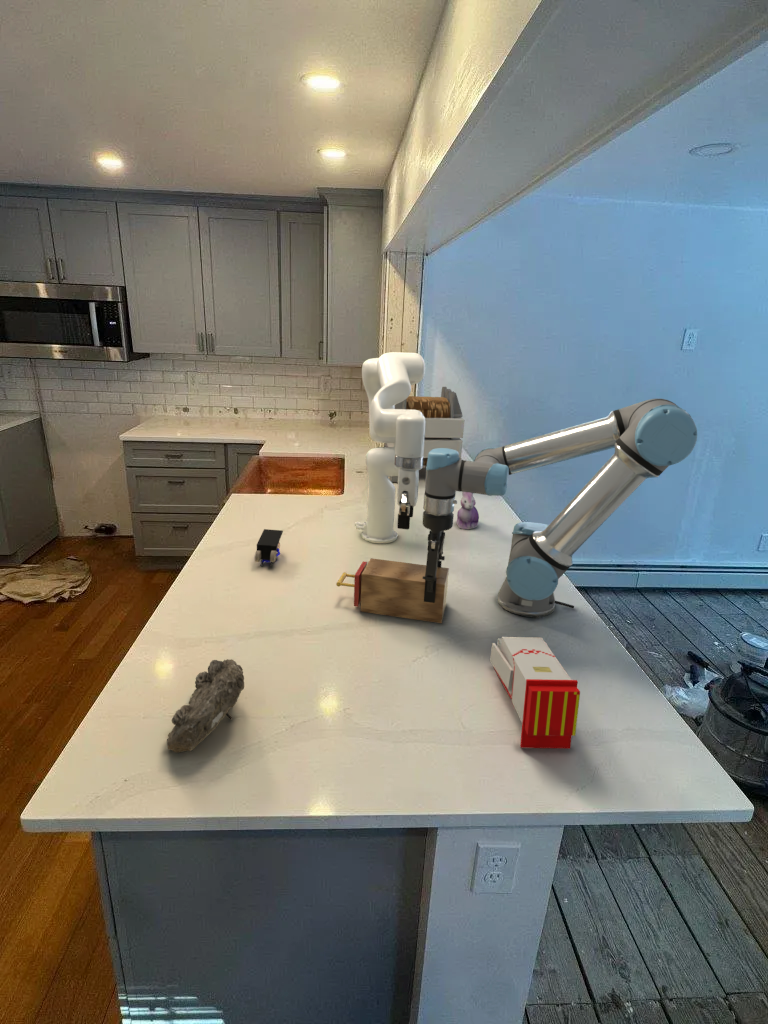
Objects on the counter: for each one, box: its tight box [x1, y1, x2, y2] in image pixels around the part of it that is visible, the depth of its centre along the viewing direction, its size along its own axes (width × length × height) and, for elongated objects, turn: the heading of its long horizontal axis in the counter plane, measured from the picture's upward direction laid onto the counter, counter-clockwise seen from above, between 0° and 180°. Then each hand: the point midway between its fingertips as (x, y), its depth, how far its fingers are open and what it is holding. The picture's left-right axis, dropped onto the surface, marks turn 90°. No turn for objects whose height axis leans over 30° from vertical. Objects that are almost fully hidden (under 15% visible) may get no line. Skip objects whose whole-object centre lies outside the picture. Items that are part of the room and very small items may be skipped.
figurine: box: [455, 492, 480, 530], centre depth 208 cm, size 9×10×15 cm
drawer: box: [335, 561, 368, 608], centre depth 150 cm, size 25×9×9 cm, turn 78°
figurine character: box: [254, 528, 284, 568], centre depth 174 cm, size 7×8×15 cm
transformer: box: [383, 386, 465, 483], centre depth 268 cm, size 34×33×41 cm
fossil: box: [166, 658, 245, 754], centre depth 106 cm, size 22×10×15 cm
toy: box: [489, 636, 581, 749], centre depth 115 cm, size 12×13×30 cm
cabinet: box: [360, 557, 450, 624], centre depth 149 cm, size 21×10×11 cm, turn 78°
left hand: (405, 522), depth 155 cm, fingers open, 9 cm apart
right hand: (432, 592), depth 147 cm, fingers closed on cabinet, 10 cm apart
